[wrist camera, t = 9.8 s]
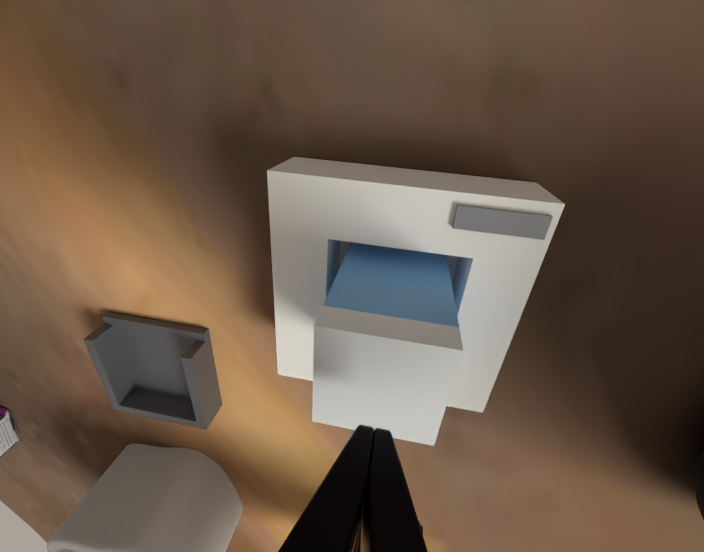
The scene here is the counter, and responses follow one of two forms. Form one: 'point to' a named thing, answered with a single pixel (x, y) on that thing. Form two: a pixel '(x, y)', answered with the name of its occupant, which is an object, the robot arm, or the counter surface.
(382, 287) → the plug
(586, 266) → the counter surface
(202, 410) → the grey shallow square piece
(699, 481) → the milk container
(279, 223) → the port
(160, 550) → the grey lumpy container
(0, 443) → the candy bar box
